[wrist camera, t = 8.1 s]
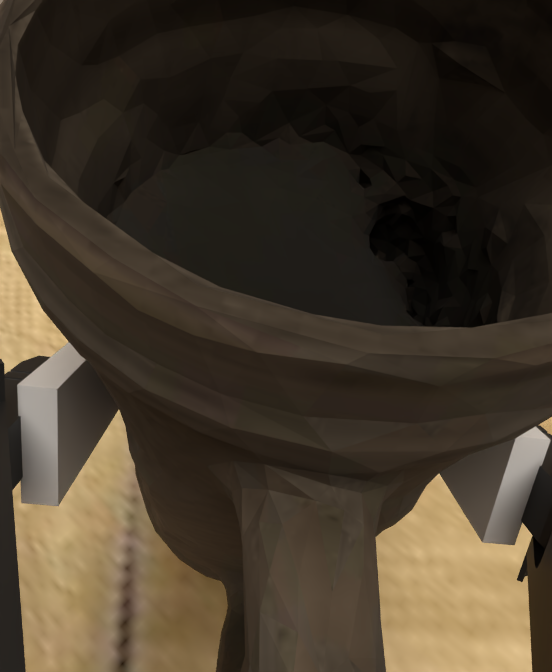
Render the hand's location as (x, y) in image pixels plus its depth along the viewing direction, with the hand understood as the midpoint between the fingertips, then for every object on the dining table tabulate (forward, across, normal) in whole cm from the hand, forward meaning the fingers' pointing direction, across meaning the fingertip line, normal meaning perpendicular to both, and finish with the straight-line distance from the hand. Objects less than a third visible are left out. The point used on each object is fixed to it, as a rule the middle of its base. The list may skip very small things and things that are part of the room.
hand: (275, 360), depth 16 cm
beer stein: (+4, 0, -9) cm, 10 cm away
